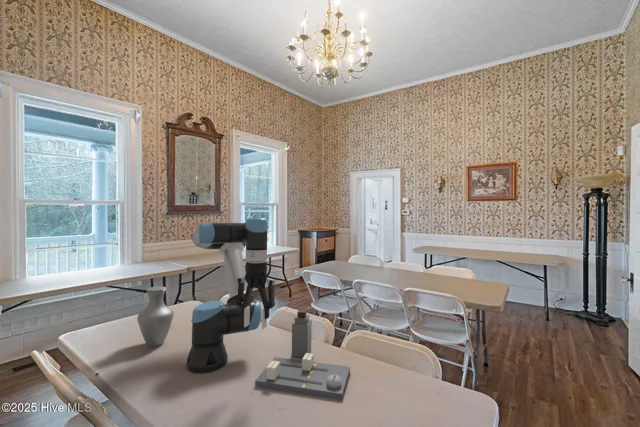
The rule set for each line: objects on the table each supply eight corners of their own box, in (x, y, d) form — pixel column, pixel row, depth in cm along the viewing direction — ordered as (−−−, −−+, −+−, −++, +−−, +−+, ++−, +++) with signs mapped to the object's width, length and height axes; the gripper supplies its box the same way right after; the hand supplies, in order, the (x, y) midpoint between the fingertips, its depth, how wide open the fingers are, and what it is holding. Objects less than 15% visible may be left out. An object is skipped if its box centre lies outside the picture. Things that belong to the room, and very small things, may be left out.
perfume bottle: (307, 358, 126) (307, 314, 126) (291, 356, 128) (292, 312, 128) (311, 351, 133) (311, 309, 133) (296, 349, 134) (296, 308, 134)
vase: (129, 347, 134) (129, 290, 134) (157, 335, 147) (158, 283, 147) (153, 353, 129) (153, 293, 129) (180, 340, 142) (181, 286, 142)
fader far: (302, 370, 112) (302, 358, 112) (305, 363, 117) (306, 352, 117) (309, 371, 111) (310, 359, 111) (313, 364, 116) (313, 353, 116)
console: (255, 386, 105) (255, 374, 105) (275, 362, 122) (275, 351, 122) (342, 400, 98) (342, 387, 98) (350, 372, 115) (350, 361, 115)
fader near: (266, 379, 105) (266, 366, 105) (272, 371, 110) (272, 360, 110) (274, 380, 105) (274, 368, 105) (280, 372, 110) (280, 361, 110)
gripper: (226, 261, 108) (225, 327, 108) (277, 264, 104) (276, 333, 103) (237, 258, 115) (236, 320, 115) (285, 261, 111) (284, 325, 111)
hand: (255, 326), depth 109 cm, fingers open, 6 cm apart
